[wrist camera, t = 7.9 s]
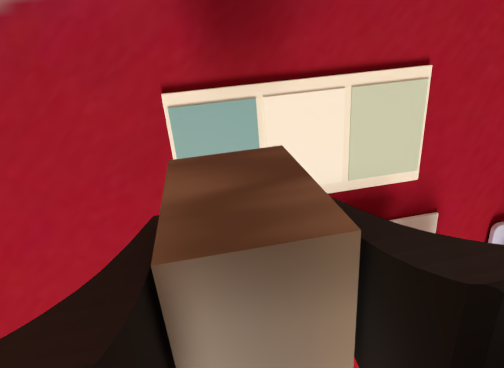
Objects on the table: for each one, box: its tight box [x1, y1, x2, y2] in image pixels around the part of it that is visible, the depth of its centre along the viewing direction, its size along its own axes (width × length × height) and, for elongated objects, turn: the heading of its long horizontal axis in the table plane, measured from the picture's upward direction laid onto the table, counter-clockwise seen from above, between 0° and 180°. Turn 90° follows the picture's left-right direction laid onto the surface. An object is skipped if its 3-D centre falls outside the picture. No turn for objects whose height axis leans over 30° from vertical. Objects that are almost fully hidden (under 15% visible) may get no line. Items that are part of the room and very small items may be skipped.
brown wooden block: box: [151, 145, 361, 368], centre depth 10 cm, size 4×4×6 cm
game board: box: [161, 65, 432, 194], centre depth 19 cm, size 15×7×1 cm, turn 94°
